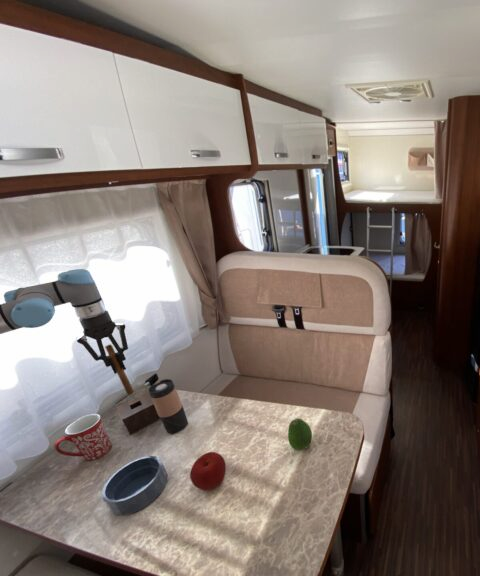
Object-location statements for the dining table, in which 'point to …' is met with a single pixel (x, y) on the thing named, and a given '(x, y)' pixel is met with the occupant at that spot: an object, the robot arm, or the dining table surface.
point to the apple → (208, 471)
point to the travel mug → (168, 406)
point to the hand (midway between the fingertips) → (119, 370)
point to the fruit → (299, 434)
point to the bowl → (135, 485)
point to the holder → (138, 413)
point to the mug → (86, 438)
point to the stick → (119, 369)
